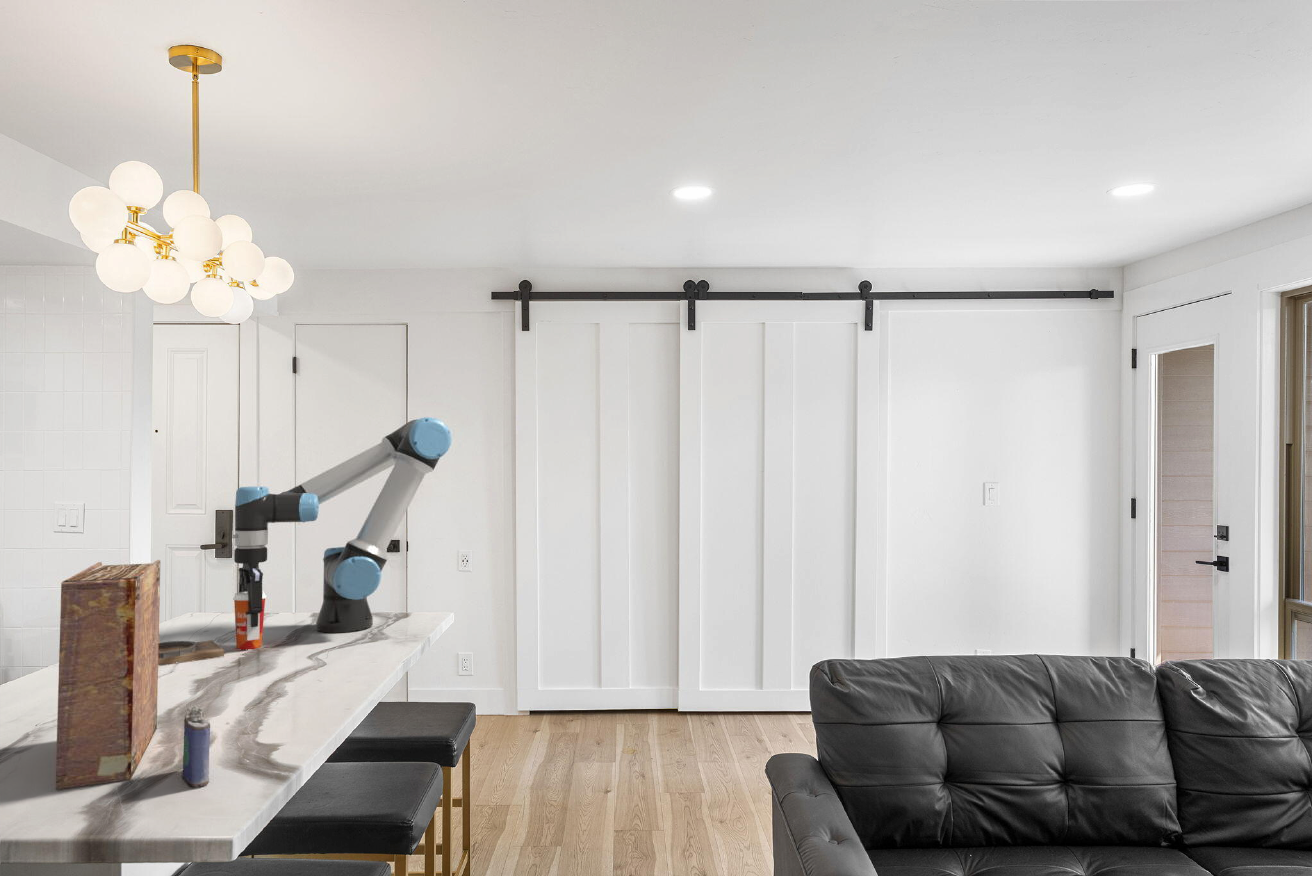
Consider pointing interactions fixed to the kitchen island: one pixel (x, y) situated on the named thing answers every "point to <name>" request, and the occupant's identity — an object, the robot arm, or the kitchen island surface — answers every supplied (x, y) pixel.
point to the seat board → (187, 651)
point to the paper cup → (241, 622)
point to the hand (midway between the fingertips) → (249, 636)
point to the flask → (196, 748)
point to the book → (107, 672)
